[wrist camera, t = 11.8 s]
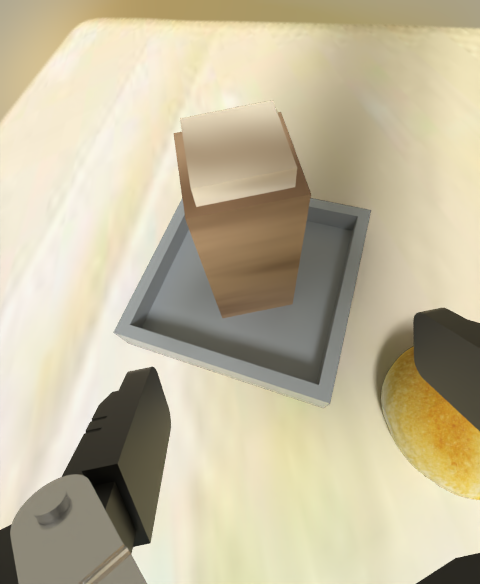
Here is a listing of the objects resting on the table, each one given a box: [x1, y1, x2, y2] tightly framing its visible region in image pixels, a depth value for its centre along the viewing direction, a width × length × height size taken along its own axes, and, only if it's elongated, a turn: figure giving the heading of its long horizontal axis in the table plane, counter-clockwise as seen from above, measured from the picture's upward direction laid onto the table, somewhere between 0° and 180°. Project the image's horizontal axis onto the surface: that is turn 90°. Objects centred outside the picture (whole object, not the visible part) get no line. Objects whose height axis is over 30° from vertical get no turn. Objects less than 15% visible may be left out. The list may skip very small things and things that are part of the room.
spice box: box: [174, 100, 311, 318], centre depth 18 cm, size 5×5×12 cm
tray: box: [113, 198, 371, 408], centre depth 23 cm, size 14×14×2 cm
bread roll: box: [381, 346, 480, 500], centre depth 18 cm, size 8×9×4 cm
